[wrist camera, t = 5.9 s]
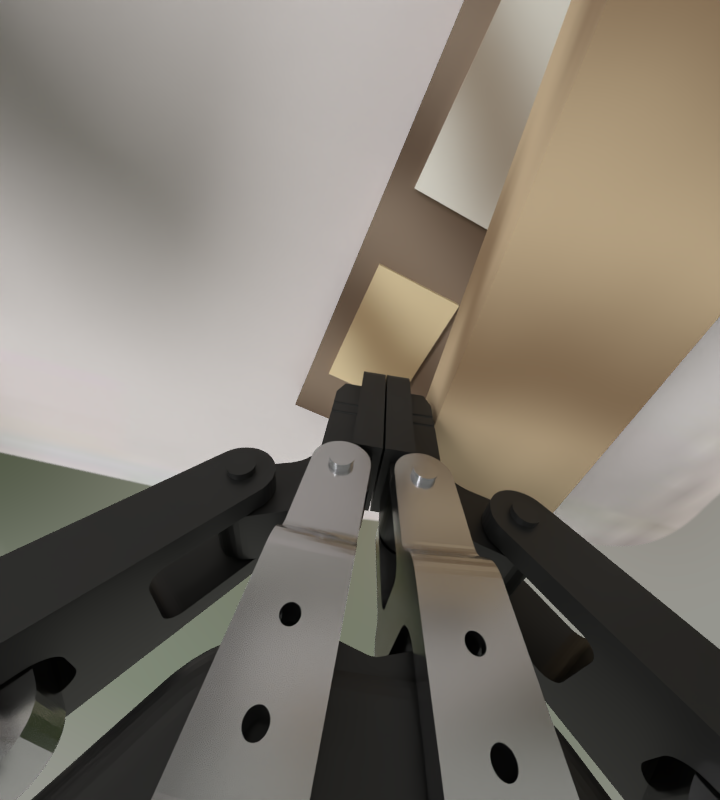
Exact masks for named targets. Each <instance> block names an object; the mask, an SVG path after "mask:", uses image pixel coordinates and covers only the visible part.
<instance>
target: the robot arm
mask: <svg viewBox="0 0 720 800" xmlns="http://www.w3.org/2000/svg"><path fill="white" fill-rule="evenodd" d="M370 501H371V510H370V511H375V512H379V526H378V530H377V534H376V539H375V541H376V542H375V544H376V577H377V608H378V614H377V628H376V636H375V657H373V656H369V655H366V654H364V653H362V652H360V651H358V650H356V649H354V648H352V647H350V646H348V645H346V644H344V643H342V642H340V641H339V639H340V634H341V628H342V623H343V617H344V612H345V606H346V601H347V596H348V591H349V585H350V580H351V574H352V569H353V564H354V558H355V553H356V547H357V539H358V533H359V530H360V528H361V523H362V519H363V514H364V510H367V511H368V510H369V506H370ZM251 574H252V575H251ZM249 575H251V577H250V580H249V582H248V584H247V586H246V589H245V591H244V593H243V595H242V598H241V600H240V602H239V604H238V606H237V609H236V611H235V613H234V616H233V618H232V620H231V622H230V624H229V627H228V629H227V631H226V633H225V636H224V638H223V640H222V642H221V644H220V645H219V646H217V647H215V648H212V649H210V650H208V651H206V652H205V653H203V654H201V655H200V656H198V657H196V658H194V659H193V660H191V661H190V662H188V663H187V664H186V665H184V666H183V667H182V668H180V669H179V670H177V671H176V672H175V673H174V674H172V675H171V676H170V677H169V678H168V679H166V680H165V681H164V682H163V683H162V684H161V685H160V686H158V687H157V688H156V689H155V690H154V691H153V692H152V693H151V694H149V695H148V696H147V697H146V698H145V699H144V700H143V701H142V702H141V703H139V704H138V705H137V706H136V707H135V708H134V709H133V710H132V711H130V712H129V713H128V714H127V715H126V716H125V717H124V718H123V719H121V720H120V721H119V722H118V723H117V724H116V725H115V726H114V727H113V728H112V729H110V730H109V731H108V732H107V733H106V734H105V735H103V736H102V737H101V738H100V739H99V740H98V741H97V742H96V743H95V744H93V745H92V746H91V747H90V748H89V749H88V750H87V751H86V752H84V754H82V755H81V756H80V757H79V758H78V759H77V760H76V761H74V762H73V763H72V764H71V765H70V766H69V767H68V768H66V769H65V770H64V771H63V772H62V773H61V774H60V775H59V776H57V777H56V778H55V779H54V780H53V781H52V782H51V783H50V784H49V785H47V786H46V787H45V788H44V789H43V790H42V791H41V792H39V793H38V794H37V795H36V796H35V797H34V798H33V799H32V800H611V798H610V797H609V796H608V794H607V793H606V792H605V791H604V789H603V788H602V786H601V785H600V784H599V782H598V781H597V780H596V778H595V777H594V776H593V775H592V773H591V772H590V770H589V769H588V768H587V766H586V765H585V764H584V763H583V761H582V760H581V758H580V757H579V756H578V754H577V753H576V752H575V751H574V749H573V748H572V746H571V745H570V744H569V743H568V741H567V740H566V739H565V738H564V736H563V735H562V734H561V733H560V732H559V730H558V729H557V728H556V727H555V726H554V725H553V722H552V720H551V717H550V714H549V711H548V708H547V705H546V702H547V704H548V705H549V706H550V708H551V709H552V710H553V711H554V712H555V714H556V715H557V716H558V717H559V719H560V720H561V721H562V722H563V724H564V725H565V726H566V727H567V729H568V730H569V731H570V732H571V734H572V735H573V736H574V737H575V739H576V740H577V741H578V742H579V744H580V745H581V746H582V747H583V749H584V750H585V751H586V752H587V754H588V755H589V756H590V757H591V759H592V760H593V761H594V762H595V763H596V765H597V766H598V767H599V768H600V770H601V771H602V772H603V774H604V775H605V776H606V777H607V778H608V780H609V781H610V782H611V784H612V785H613V786H614V787H615V789H616V790H617V791H618V792H619V794H620V795H621V796H622V797H623V799H624V800H720V649H718V648H717V647H716V646H715V645H714V644H712V643H711V642H710V641H709V640H708V639H706V638H705V637H704V636H702V635H701V634H700V633H699V632H698V631H696V630H695V629H694V628H693V627H692V626H690V625H689V624H688V623H687V622H686V621H684V620H683V619H682V618H681V617H679V616H678V615H677V614H676V613H674V612H673V611H672V610H671V609H670V608H668V607H667V606H666V605H665V604H663V603H662V602H661V601H660V600H659V599H657V598H656V597H655V596H653V595H652V594H651V593H650V592H649V591H647V590H646V589H645V588H644V587H642V586H641V585H640V584H639V583H638V582H636V581H635V580H634V579H633V578H632V577H630V576H629V575H628V574H627V573H625V572H624V571H623V570H622V569H621V568H619V567H618V566H617V565H616V564H614V563H613V562H612V561H611V560H609V559H608V558H607V557H606V556H605V555H603V554H602V553H601V552H600V551H598V550H597V549H596V548H595V547H594V546H592V545H591V544H590V543H589V542H587V541H586V540H585V539H584V538H582V537H581V536H580V535H579V534H578V533H576V532H575V531H574V530H573V529H571V528H570V527H569V526H568V525H567V524H565V523H564V522H563V521H562V520H560V519H559V518H558V517H557V516H556V515H554V514H553V513H552V512H551V511H549V510H548V509H547V508H546V507H544V506H543V505H542V504H541V503H539V502H538V501H537V500H535V499H534V498H532V497H530V496H528V495H526V494H524V493H521V492H518V491H513V490H503V491H499V492H497V493H495V494H494V495H493V497H492V498H491V500H490V499H488V498H485V497H483V496H481V495H478V494H476V493H473V492H471V491H469V490H467V489H465V488H463V487H461V486H459V485H458V484H457V483H455V482H454V478H453V476H452V473H451V472H450V470H449V469H448V468H447V466H446V465H444V464H443V463H442V462H441V461H440V455H439V449H438V443H437V438H436V432H435V428H434V420H433V414H432V409H431V405H430V404H429V403H428V401H427V400H426V399H425V398H424V396H422V395H415V394H411V390H410V379H409V378H404V377H398V376H391V375H387V376H386V375H385V374H379V373H372V372H366V371H364V374H363V380H362V386H358V385H352V384H344V385H343V386H342V387H341V388H340V389H339V390H337V392H336V396H335V399H334V403H333V406H332V410H331V413H330V417H329V421H328V424H327V428H326V431H325V435H324V438H323V442H322V445H321V446H319V447H318V448H317V449H316V450H315V451H314V453H313V455H312V456H311V457H309V458H307V459H304V460H302V461H298V462H292V463H282V464H275V463H274V460H273V459H272V457H271V456H270V455H269V454H267V453H266V452H264V451H262V450H259V449H255V448H237V449H233V450H230V451H227V452H225V453H223V454H220V455H218V456H216V457H214V458H212V459H210V460H208V461H205V462H203V463H201V464H199V465H197V466H195V467H192V468H190V469H188V470H186V471H184V472H182V473H180V474H177V475H175V476H173V477H171V478H169V479H167V480H164V481H162V482H160V483H158V484H156V485H154V486H152V487H149V488H147V489H145V490H143V491H141V492H139V493H137V494H134V495H132V496H130V497H128V498H126V499H124V500H122V501H119V502H117V503H115V504H113V505H111V506H109V507H107V508H104V509H102V510H100V511H98V512H96V513H94V514H91V515H90V516H87V517H85V518H83V519H81V520H79V521H76V522H74V523H72V524H70V525H68V526H66V527H63V528H61V529H59V530H57V531H55V532H53V533H50V534H49V535H46V536H44V537H42V538H40V539H38V540H35V541H33V542H31V543H29V544H27V545H25V546H23V547H20V548H18V549H16V550H14V551H12V552H10V553H8V554H5V555H3V556H1V557H0V800H16V799H17V798H18V797H19V796H21V795H22V794H23V793H24V791H25V790H27V788H28V787H29V786H30V785H31V784H32V783H33V782H34V780H35V779H36V778H37V777H38V775H39V774H40V773H41V771H42V770H43V769H44V767H45V766H46V764H47V763H48V761H49V759H50V758H51V756H52V754H53V753H54V751H55V749H56V747H57V745H58V743H59V740H60V737H61V735H62V732H63V728H64V724H65V717H66V716H67V715H69V714H70V713H71V712H73V711H74V710H75V709H77V708H78V707H79V706H81V705H82V704H83V703H84V702H86V701H87V700H88V699H90V698H91V697H92V696H93V695H95V694H96V693H97V692H99V691H100V690H101V689H103V688H104V687H105V686H106V685H108V684H109V683H110V682H112V681H113V680H114V679H116V678H117V677H118V676H119V675H121V674H122V673H123V672H125V671H126V670H127V669H129V668H130V667H131V666H132V665H134V664H135V663H136V662H137V661H139V660H140V659H141V658H143V657H144V656H145V655H147V654H148V653H149V652H151V651H152V650H153V649H155V648H156V647H157V646H158V645H160V644H161V643H162V642H163V641H165V640H166V639H168V638H169V637H170V636H171V635H173V634H174V633H175V632H177V631H178V630H179V629H181V628H182V627H183V626H184V625H186V624H187V623H188V622H190V621H191V620H192V619H194V618H195V617H196V616H197V615H199V614H200V613H201V612H203V611H204V610H205V609H207V608H208V607H209V606H210V605H212V604H213V603H214V602H215V601H217V600H218V599H219V598H221V597H222V596H223V595H225V594H226V593H227V592H229V591H230V590H231V589H233V588H234V587H235V586H236V585H238V584H239V583H240V582H242V581H243V580H244V579H246V578H247V577H248V576H249ZM525 578H527V579H529V581H530V582H531V583H532V584H533V585H534V586H535V587H536V588H537V589H538V590H539V591H540V592H541V593H542V594H543V595H544V596H545V597H546V598H547V599H548V600H549V601H550V602H551V603H552V604H553V605H554V606H555V607H556V608H557V609H558V610H559V611H560V612H561V613H562V614H563V615H564V616H565V617H566V618H567V619H568V620H569V621H570V622H571V623H572V624H573V625H574V626H575V627H576V628H577V629H578V630H579V631H580V632H581V633H582V634H583V636H584V637H585V638H583V637H581V636H579V635H578V634H577V633H575V632H574V631H573V630H572V629H571V628H570V627H569V626H568V625H567V624H566V623H565V622H564V621H563V620H562V619H561V618H560V617H559V616H558V615H557V614H556V613H555V612H554V611H553V610H552V609H551V608H550V607H549V606H548V605H547V604H546V603H545V602H544V601H543V600H542V599H541V598H540V596H538V594H536V592H535V591H534V590H533V589H532V588H531V587H530V586H529V585H528V584H527V583H526V582H525V581H524V579H525ZM545 701H546V702H545Z"/></svg>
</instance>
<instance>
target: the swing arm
mask: <svg viewBox="0 0 720 800" xmlns="http://www.w3.org/2000/svg"><path fill="white" fill-rule="evenodd" d="M719 316H720V0H571V2H570V5H569V7H568V10H567V13H566V16H565V18H564V21H563V24H562V27H561V29H560V32H559V35H558V38H557V40H556V43H555V46H554V49H553V51H552V54H551V57H550V60H549V62H548V65H547V68H546V71H545V73H544V76H543V79H542V82H541V84H540V87H539V90H538V92H537V95H536V98H535V101H534V103H533V106H532V109H531V112H530V114H529V117H528V120H527V123H526V125H525V128H524V131H523V134H522V136H521V139H520V142H519V145H518V147H517V150H516V153H515V156H514V158H513V161H512V164H511V167H510V169H509V172H508V175H507V178H506V180H505V183H504V186H503V189H502V191H501V194H500V197H499V199H498V202H497V205H496V208H495V210H494V213H493V216H492V219H491V221H490V224H489V227H488V230H487V232H486V235H485V238H484V241H483V243H482V246H481V249H480V252H479V254H478V257H477V260H476V263H475V265H474V268H473V271H472V274H471V276H470V279H469V282H468V285H467V287H466V290H465V293H464V296H463V298H462V301H461V304H460V306H459V309H458V312H457V315H456V317H455V320H454V323H453V326H452V328H451V331H450V334H449V337H448V339H447V342H446V345H445V348H444V350H443V353H442V356H441V359H440V361H439V364H438V367H437V370H436V372H435V375H434V378H433V381H432V383H431V386H430V389H429V392H428V394H427V397H426V400H427V401H428V403H429V404H430V405H431V409H432V414H433V420H434V428H435V432H436V438H437V443H438V449H439V455H440V461H441V462H442V463H443V464H444V465H446V466H447V468H448V469H449V470H450V472H451V473H452V476H453V478H454V482H455V483H457V484H458V485H459V486H461V487H463V488H465V489H467V490H469V491H471V492H473V493H476V494H478V495H481V496H483V497H485V498H488V499H490V500H491V498H492V497H493V495H494V494H495V493H497V492H499V491H503V490H513V491H518V492H521V493H524V494H526V495H528V496H530V497H532V498H534V499H535V500H537V501H538V502H539V503H541V504H542V505H543V506H544V507H546V508H547V509H548V510H549V511H551V512H552V513H553V512H554V511H555V510H556V509H557V507H558V506H559V505H560V504H561V503H562V502H563V500H564V499H565V498H566V497H567V496H568V495H569V493H570V492H571V491H572V490H573V489H574V487H575V486H576V485H577V484H578V483H579V482H580V480H581V479H582V478H583V477H584V476H585V474H586V473H587V472H588V471H589V470H590V469H591V467H592V466H593V465H594V464H595V463H596V461H597V460H598V459H599V458H600V457H601V456H602V454H603V453H604V452H605V451H606V450H607V449H608V447H609V446H610V445H611V444H612V443H613V441H614V440H615V439H616V438H617V437H618V436H619V434H620V433H621V432H622V431H623V430H624V428H625V427H626V426H627V425H628V424H629V423H630V421H631V420H632V419H633V418H634V417H635V416H636V414H637V413H638V412H639V411H640V410H641V408H642V407H643V406H644V405H645V404H646V403H647V401H648V400H649V399H650V398H651V397H652V395H653V394H654V393H655V392H656V391H657V390H658V388H659V387H660V386H661V385H662V384H663V382H664V381H665V380H666V379H667V378H668V377H669V375H670V374H671V373H672V372H673V371H674V370H675V368H676V367H677V366H678V365H679V364H680V362H681V361H682V360H683V359H684V358H685V357H686V355H687V354H688V353H689V352H690V351H691V349H692V348H693V347H694V346H695V345H696V344H697V342H698V341H699V340H700V339H701V338H702V336H703V335H704V334H705V333H706V332H707V331H708V329H709V328H710V327H711V326H712V325H713V324H714V322H715V321H716V320H717V319H718V318H719Z"/></svg>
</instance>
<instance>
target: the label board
mask: <svg viewBox="0 0 720 800" xmlns="http://www.w3.org/2000/svg"><path fill="white" fill-rule="evenodd" d="M570 2H571V0H464V2H463V4H462V7H461V9H460V12H459V14H458V16H457V19H456V21H455V24H454V26H453V28H452V31H451V33H450V36H449V38H448V40H447V43H446V45H445V48H444V50H443V52H442V55H441V57H440V60H439V62H438V64H437V67H436V69H435V71H434V74H433V76H432V79H431V81H430V83H429V86H428V88H427V91H426V93H425V95H424V98H423V100H422V103H421V105H420V107H419V110H418V112H417V115H416V117H415V119H414V122H413V124H412V127H411V129H410V131H409V134H408V136H407V138H406V141H405V143H404V146H403V148H402V150H401V153H400V155H399V158H398V160H397V162H396V165H395V167H394V170H393V172H392V174H391V177H390V179H389V182H388V184H387V186H386V189H385V191H384V194H383V196H382V198H381V201H380V203H379V205H378V208H377V210H376V213H375V215H374V217H373V220H372V222H371V225H370V227H369V229H368V232H367V234H366V237H365V239H364V241H363V244H362V246H361V249H360V251H359V253H358V256H357V258H356V261H355V263H354V265H353V268H352V270H351V272H350V275H349V277H348V280H347V282H346V284H345V287H344V289H343V292H342V294H341V296H340V299H339V301H338V304H337V306H336V308H335V311H334V313H333V316H332V318H331V320H330V323H329V325H328V328H327V330H326V332H325V335H324V337H323V339H322V342H321V344H320V347H319V349H318V351H317V354H316V356H315V359H314V361H313V363H312V366H311V368H310V371H309V373H308V375H307V378H306V380H305V383H304V385H303V387H302V390H301V392H300V395H299V397H298V399H297V402H296V404H295V405H298V406H300V407H303V408H305V409H307V410H310V411H312V412H314V413H317V414H319V415H322V416H324V417H326V418H329V417H330V413H331V410H332V406H333V403H334V399H335V396H336V392H337V390H339V389H340V388H341V387H342V386H343V385H344V384H352V385H358V386H362V380H363V374H364V371H366V372H372V373H379V374H385V375H386V376H387V375H391V376H398V377H404V378H409V379H410V390H411V394H415V395H422V396H424V398H425V399H426V397H427V394H428V392H429V389H430V386H431V383H432V381H433V378H434V375H435V372H436V370H437V367H438V364H439V361H440V359H441V356H442V353H443V350H444V348H445V345H446V342H447V339H448V337H449V334H450V331H451V328H452V326H453V323H454V320H455V317H456V315H457V312H458V309H459V306H460V304H461V301H462V298H463V296H464V293H465V290H466V287H467V285H468V282H469V279H470V276H471V274H472V271H473V268H474V265H475V263H476V260H477V257H478V254H479V252H480V249H481V246H482V243H483V241H484V238H485V235H486V232H487V230H488V227H489V224H490V221H491V219H492V216H493V213H494V210H495V208H496V205H497V202H498V199H499V197H500V194H501V191H502V189H503V186H504V183H505V180H506V178H507V175H508V172H509V169H510V167H511V164H512V161H513V158H514V156H515V153H516V150H517V147H518V145H519V142H520V139H521V136H522V134H523V131H524V128H525V125H526V123H527V120H528V117H529V114H530V112H531V109H532V106H533V103H534V101H535V98H536V95H537V92H538V90H539V87H540V84H541V82H542V79H543V76H544V73H545V71H546V68H547V65H548V62H549V60H550V57H551V54H552V51H553V49H554V46H555V43H556V40H557V38H558V35H559V32H560V29H561V27H562V24H563V21H564V18H565V16H566V13H567V10H568V7H569V5H570Z"/></svg>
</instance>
